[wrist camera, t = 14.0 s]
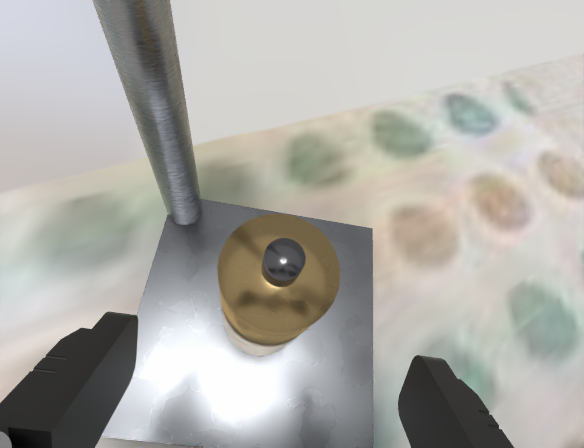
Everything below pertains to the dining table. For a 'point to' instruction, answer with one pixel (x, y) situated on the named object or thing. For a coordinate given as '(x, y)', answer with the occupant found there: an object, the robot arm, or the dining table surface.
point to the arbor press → (206, 295)
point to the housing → (275, 281)
